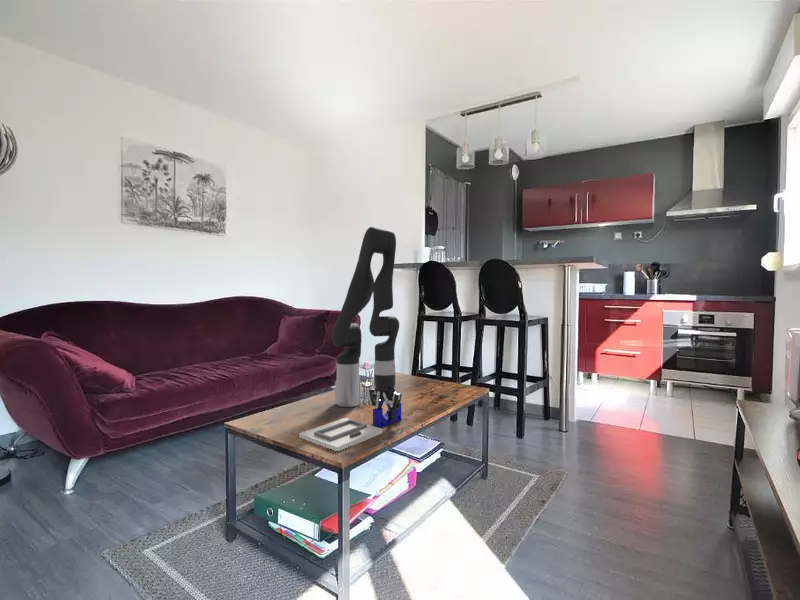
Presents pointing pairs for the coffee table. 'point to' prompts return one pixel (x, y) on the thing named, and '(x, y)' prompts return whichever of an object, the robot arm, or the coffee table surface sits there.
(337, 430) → the board
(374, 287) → the robot arm
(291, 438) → the coffee table surface
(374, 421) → the cable clip
